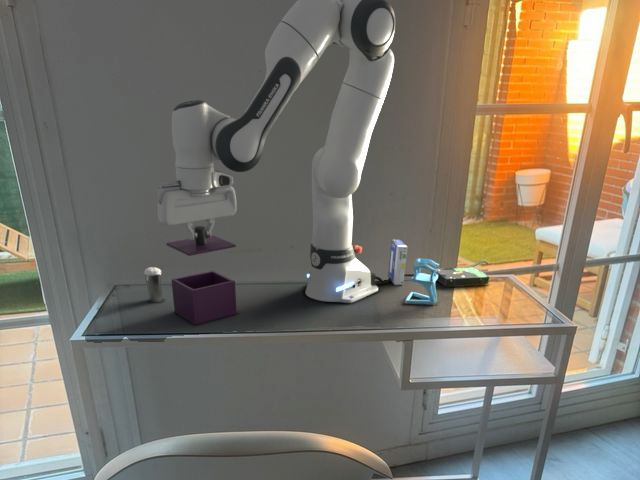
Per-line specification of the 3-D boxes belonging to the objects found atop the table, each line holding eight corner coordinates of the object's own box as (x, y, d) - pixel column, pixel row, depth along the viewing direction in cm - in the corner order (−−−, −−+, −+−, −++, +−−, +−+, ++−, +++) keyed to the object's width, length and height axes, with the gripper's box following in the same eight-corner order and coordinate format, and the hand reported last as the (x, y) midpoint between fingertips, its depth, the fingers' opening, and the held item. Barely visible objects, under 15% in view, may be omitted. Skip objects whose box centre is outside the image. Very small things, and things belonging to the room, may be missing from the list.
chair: (433, 307, 166) (439, 265, 159) (404, 303, 168) (409, 261, 162) (438, 299, 172) (444, 258, 165) (410, 294, 174) (415, 254, 168)
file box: (215, 302, 164) (213, 270, 159) (236, 313, 157) (235, 281, 152) (174, 312, 157) (171, 279, 152) (195, 324, 150) (192, 290, 145)
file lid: (212, 237, 154) (210, 219, 152) (235, 246, 147) (234, 228, 145) (166, 245, 147) (164, 226, 145) (189, 256, 140) (187, 236, 138)
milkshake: (163, 304, 161) (159, 268, 155) (144, 302, 162) (140, 266, 156) (169, 298, 165) (166, 263, 159) (152, 296, 165) (147, 261, 160)
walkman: (387, 276, 188) (391, 238, 181) (396, 276, 188) (400, 238, 182) (394, 285, 181) (398, 245, 175) (403, 284, 182) (407, 245, 175)
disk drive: (445, 288, 181) (488, 284, 184) (446, 279, 179) (490, 276, 183) (431, 277, 189) (473, 274, 193) (432, 268, 188) (474, 265, 191)
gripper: (161, 185, 131) (169, 248, 138) (238, 176, 142) (241, 234, 150) (148, 181, 135) (156, 242, 142) (224, 173, 146) (228, 229, 154)
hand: (200, 238), depth 146 cm, fingers closed on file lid, 2 cm apart
